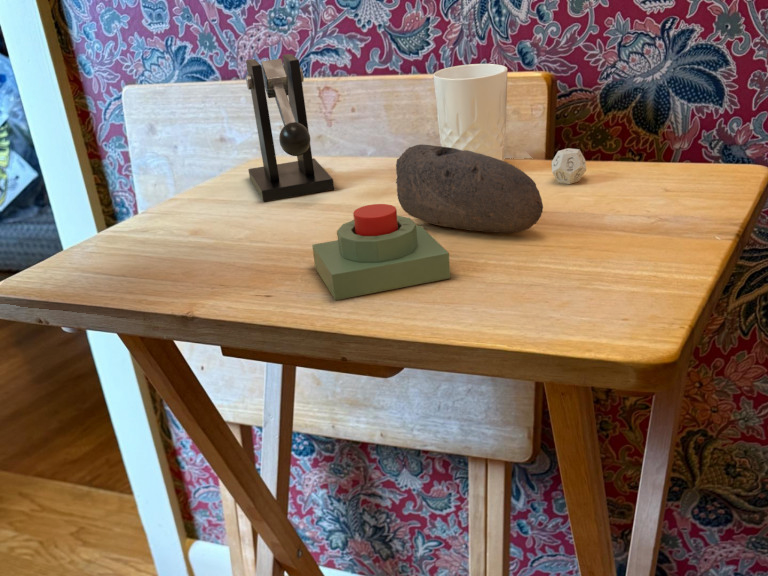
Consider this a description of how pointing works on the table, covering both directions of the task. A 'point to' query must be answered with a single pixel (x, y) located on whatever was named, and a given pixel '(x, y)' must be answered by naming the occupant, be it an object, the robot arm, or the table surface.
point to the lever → (284, 108)
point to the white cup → (472, 108)
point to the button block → (380, 260)
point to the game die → (568, 166)
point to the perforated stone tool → (466, 190)
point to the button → (375, 220)
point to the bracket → (273, 177)
